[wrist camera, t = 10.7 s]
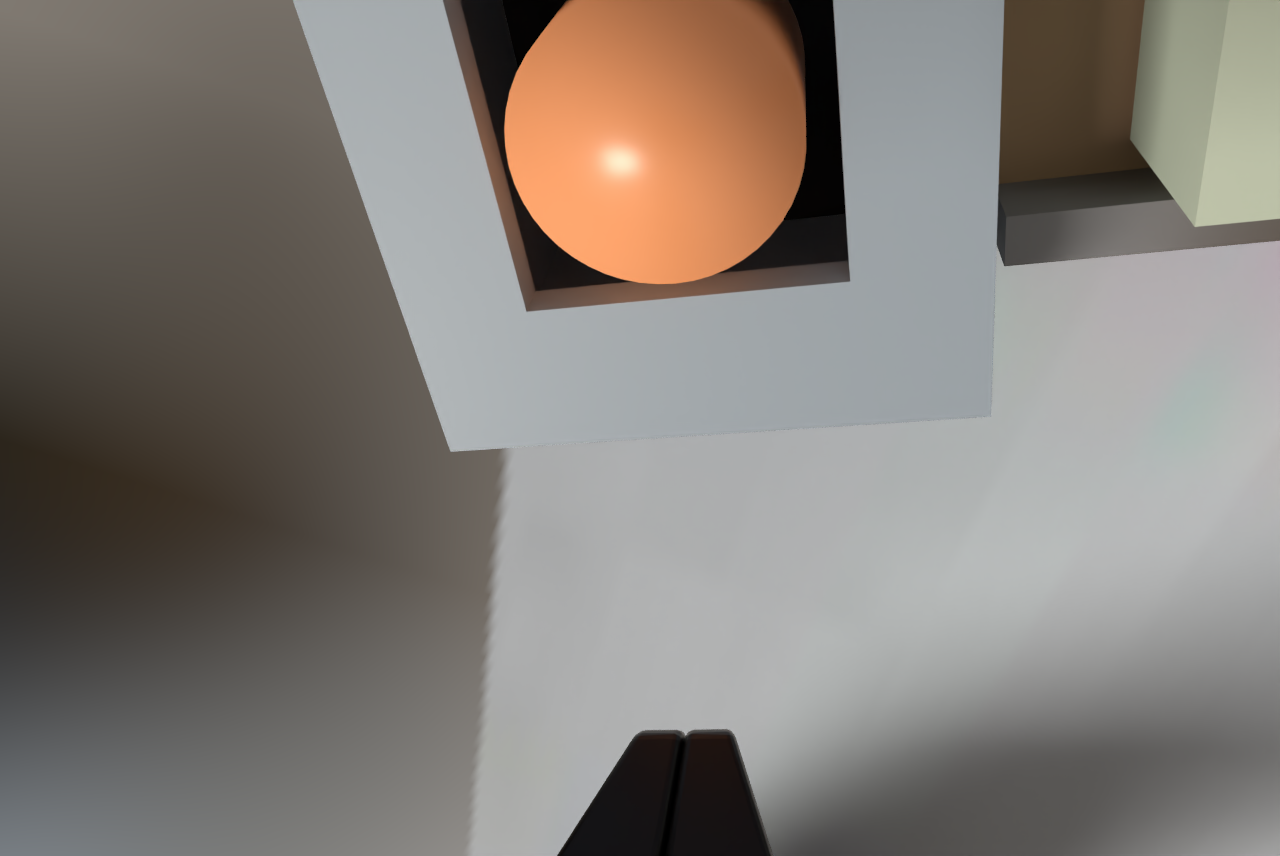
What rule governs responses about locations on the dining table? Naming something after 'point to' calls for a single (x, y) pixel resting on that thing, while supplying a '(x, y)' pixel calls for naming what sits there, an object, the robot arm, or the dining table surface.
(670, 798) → the robot arm
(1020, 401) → the dining table surface
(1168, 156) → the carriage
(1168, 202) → the rail
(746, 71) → the rounded orange peg
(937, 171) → the grey block with hole
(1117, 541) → the dining table surface
